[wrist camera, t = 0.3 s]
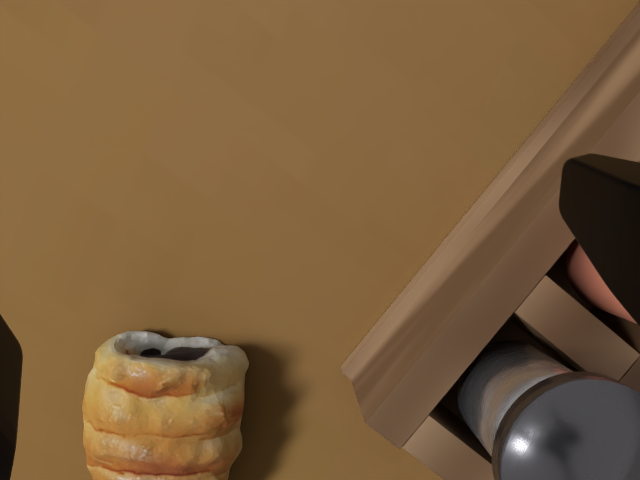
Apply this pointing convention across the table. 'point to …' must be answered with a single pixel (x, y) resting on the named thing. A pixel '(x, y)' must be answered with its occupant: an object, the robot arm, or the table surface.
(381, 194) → the table surface
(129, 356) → the pastry
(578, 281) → the pink stopper
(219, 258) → the table surface
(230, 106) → the table surface
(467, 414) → the plunger
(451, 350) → the brown wooden rack
